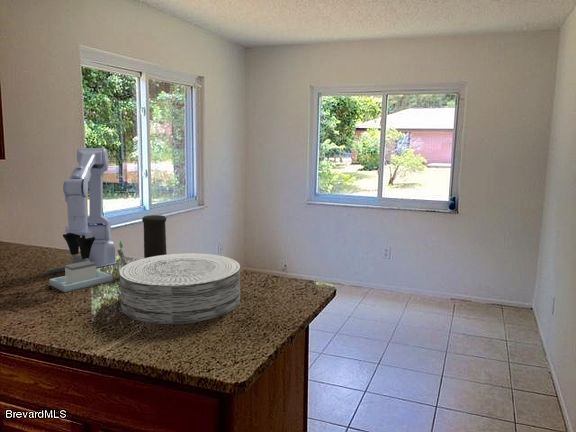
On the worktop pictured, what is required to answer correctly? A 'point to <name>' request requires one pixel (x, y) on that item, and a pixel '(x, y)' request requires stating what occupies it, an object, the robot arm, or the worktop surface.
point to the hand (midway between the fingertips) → (80, 256)
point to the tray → (63, 286)
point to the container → (154, 235)
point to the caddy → (80, 272)
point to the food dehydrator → (179, 287)
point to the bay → (75, 260)
